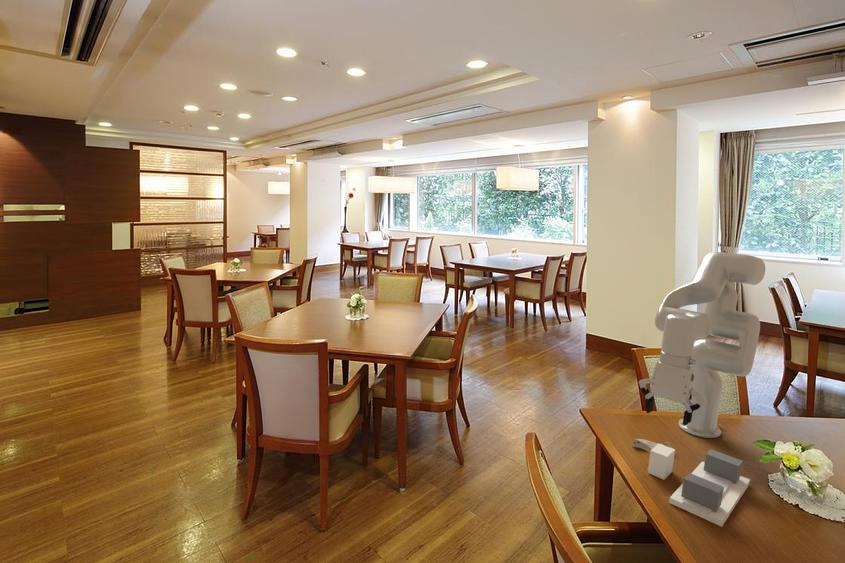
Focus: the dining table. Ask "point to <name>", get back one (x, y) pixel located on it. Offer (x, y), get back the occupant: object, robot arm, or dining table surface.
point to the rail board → (725, 499)
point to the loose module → (661, 461)
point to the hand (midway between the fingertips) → (667, 417)
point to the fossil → (647, 444)
